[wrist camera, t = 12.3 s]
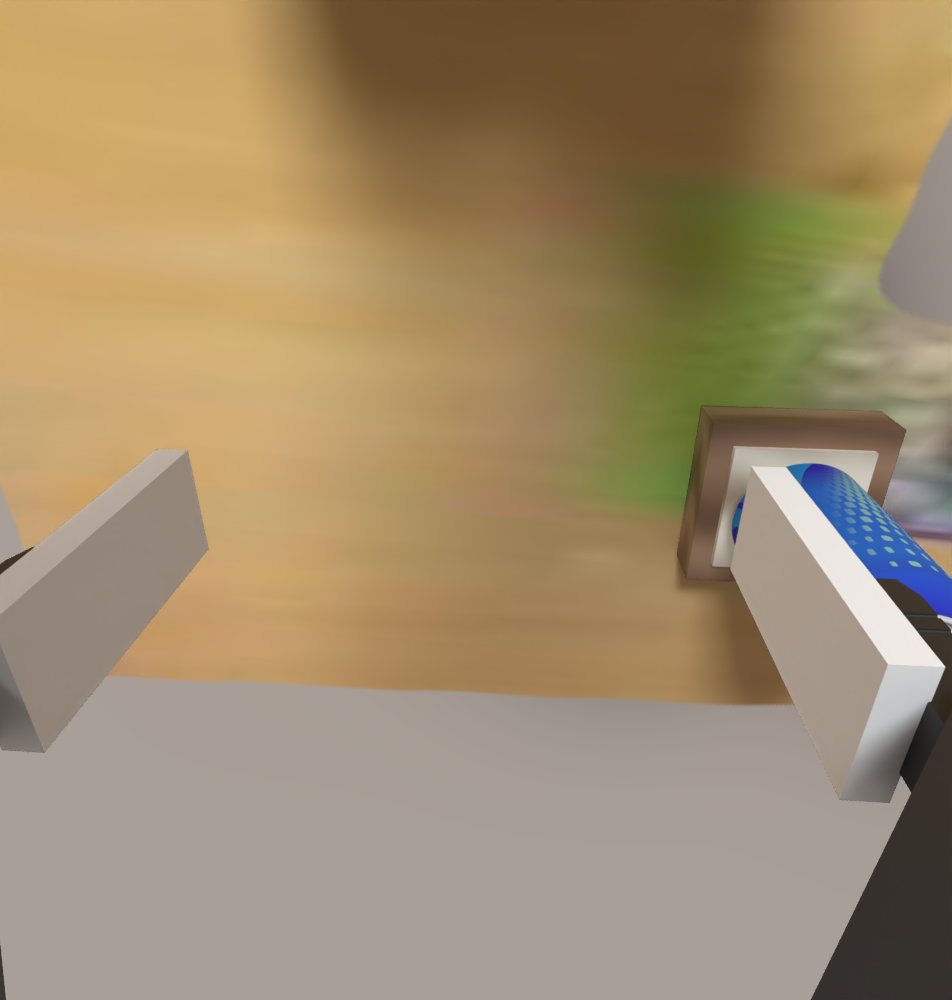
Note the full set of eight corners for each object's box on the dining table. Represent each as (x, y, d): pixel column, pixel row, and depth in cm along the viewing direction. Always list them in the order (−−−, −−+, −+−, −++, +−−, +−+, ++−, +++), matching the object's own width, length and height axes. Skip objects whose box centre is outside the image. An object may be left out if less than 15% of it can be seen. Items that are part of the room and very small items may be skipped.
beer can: (884, 505, 45) (1047, 668, 31) (783, 585, 48) (888, 765, 34) (799, 429, 43) (931, 566, 29) (700, 517, 46) (774, 679, 32)
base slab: (701, 405, 47) (715, 426, 43) (881, 411, 46) (910, 432, 43) (677, 553, 52) (687, 583, 49) (836, 560, 52) (859, 590, 48)
